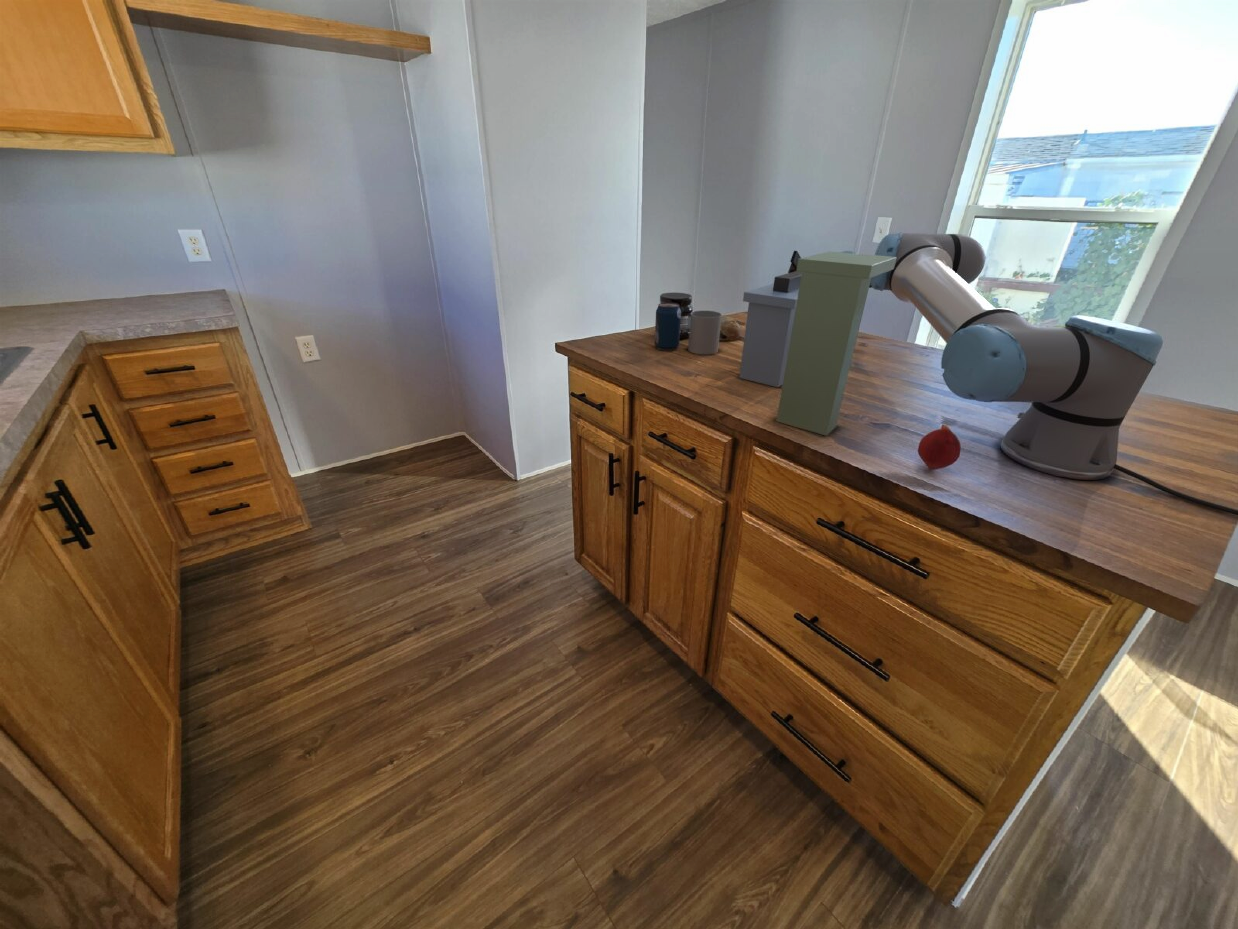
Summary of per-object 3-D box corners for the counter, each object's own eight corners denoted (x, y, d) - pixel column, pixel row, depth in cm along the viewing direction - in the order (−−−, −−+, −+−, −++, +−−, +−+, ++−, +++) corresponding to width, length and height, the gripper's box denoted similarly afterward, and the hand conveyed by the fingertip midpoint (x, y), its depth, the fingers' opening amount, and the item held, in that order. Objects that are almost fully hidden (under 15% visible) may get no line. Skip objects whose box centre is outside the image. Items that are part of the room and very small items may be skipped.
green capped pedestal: (856, 414, 103) (896, 256, 88) (831, 437, 94) (871, 265, 79) (800, 400, 110) (828, 251, 95) (771, 419, 101) (798, 258, 86)
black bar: (824, 280, 126) (827, 267, 125) (787, 292, 112) (789, 278, 110) (811, 278, 128) (813, 266, 127) (772, 290, 114) (774, 276, 112)
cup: (717, 355, 138) (721, 318, 133) (687, 353, 139) (689, 316, 134) (718, 346, 145) (722, 311, 140) (689, 345, 146) (692, 309, 142)
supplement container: (663, 329, 161) (665, 290, 155) (695, 333, 157) (698, 293, 152) (651, 337, 153) (652, 296, 147) (684, 342, 149) (687, 300, 143)
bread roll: (705, 350, 154) (707, 329, 148) (706, 328, 160) (708, 307, 153) (738, 352, 153) (741, 331, 146) (738, 329, 159) (742, 308, 152)
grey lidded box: (814, 368, 129) (830, 286, 119) (780, 389, 115) (795, 299, 105) (770, 358, 135) (782, 280, 126) (733, 377, 122) (743, 291, 112)
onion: (952, 466, 84) (969, 423, 80) (951, 481, 80) (968, 436, 76) (914, 457, 87) (928, 415, 83) (910, 471, 83) (925, 427, 79)
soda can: (683, 347, 144) (686, 304, 138) (669, 352, 140) (671, 308, 134) (664, 343, 148) (666, 300, 142) (649, 348, 144) (651, 304, 138)
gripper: (880, 313, 133) (868, 279, 115) (790, 300, 147) (767, 268, 129) (891, 285, 132) (880, 247, 114) (799, 275, 146) (777, 239, 128)
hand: (820, 258), depth 122 cm, fingers open, 13 cm apart
